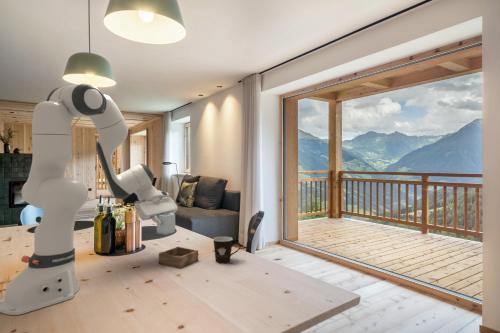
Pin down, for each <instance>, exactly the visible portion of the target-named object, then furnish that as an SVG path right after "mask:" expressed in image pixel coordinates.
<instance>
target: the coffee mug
mask: <svg viewBox="0 0 500 333" xmlns="http://www.w3.org/2000/svg"><path fill="white" fill-rule="evenodd" d="M235 244H237V245H239V247H238V248H237V250H235V251H233V252H232V248H233V246H234V245H235ZM241 246H242V244H241V243H240V242H238V241H234V242H233V238H232V236H231V237H230V236H216V237H214V238H213V247H214V256H215V257H214V258H215V262H216V264H217V263H218V264H222V263H223V264H228V263H230V262H231V257H232V256H233V255H234V254H236V253H238V252H239V251H240V250H241Z"/></svg>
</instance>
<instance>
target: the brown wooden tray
mask: <svg viewBox="0 0 500 333" xmlns="http://www.w3.org/2000/svg"><path fill="white" fill-rule="evenodd" d="M198 261H199V249H198V250H197V249H191V248H186V247H181V246H176V247H173V248H170V249H167V250H164V251H162V252H159V253H158V264H159V265H163V266H167V267H172V268H176V269H183V268H184V267H186V266H189V265H191V264H193V263H195V262H198Z"/></svg>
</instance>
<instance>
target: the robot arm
mask: <svg viewBox="0 0 500 333" xmlns="http://www.w3.org/2000/svg"><path fill="white" fill-rule="evenodd" d="M86 116H87V117H88V118H89V119H90V120H91V121H92V124H93V126H94V127H95V129H96V132H97V135H98V136H97V137H98V140H97V142H96V143H95V149H96V152H97V153H96V154H97V157H98V159H99V163H100V165H101V168H102V171H103V173H104V176H105V180H106V183H107V188H108V192H109V193H110V195H111V196H112V197H113V198H115V199H117V200H125V199H126V198H128V197H129V196H131V195H133V193H134V194H135V195H136V196H137V200H135V201H134V203H133V206H134V208H135V209H136V212H137V214H138V217H139V218H140V220H142V221H149V220H152V221H153V222H154V223H156V225H157V224H158V225H159V226H160V225H162V224H163V222H162V220H159V219H158V218H157V215H160V214H164V213H172V214H176V212H177V211H178V208H179V207H178V205H177V203H176V202H175V201H174V200H173V198H171V197H170V194H169V193H168V192H167V191H164V190H163V191H162V190H160V189H157V188H156V187H155V186H154V185H153V183H154V178H155V176H154V173H153V172H152V171H151V170H150V168H149V166H148V165H146V164H144V163H139V164H136V165H134V166H132V167H130V168H129V169H126V170H125V171H123V172H121V173H119V174H117V172H116V170H115V167H114V164H113V161H112V157H113V155H114V153H115V152H116V150H117V149H118V148H119V147H120V146H121V145H123V143H124V142H125V140H126V139H127V137H128V134H129V126H128V124H127V121H126V119H125V117H124V116H123V114H122V111H121V110H120V109H119V106H118V105H117V104H116V103H115V101H114V100H113V98H111V96H110V95H107V94H103V92H102V91H101V90H100V88H98V87H97V86H95V85H92V84H88V83H80V84H69V85H64V86H62V87H61V86H60V87H56V88H55V89H53V90H51V91H50V92H49V93H48V96H47V97H46V100H44V101H41V102H39V103H37V104H36V105H35V107H34V110H33V116H32V121H31V122H32V123H31V138H32V140H31V143H32V144H31V145H32V146H31V147H32V159H31V164H30V166H31V167H30V169H29V174H28V178H27V181H25V183H24V184H23V186H22V188H21V196H22V199H23V201H24V202H26V203H27V204H29V205H30V206H33V207H35V208H36V209H37V208H38V209H42V210H43V212H42V216H41V218H40V219H41V220H40V222H39V224H38V225H37V226H36V227H35V229H34V237H33V238H34V239H33V240H34V243H33V245H34V248H33V249H34V252H33V253H32V255H31V256H29V255H23V256H22V257H21V258H20V261H21V262H23V263H25V264H27V263H28V264H27V267H25V268H24V269H23V270H22V271H21V272H20V273H19V274H17V275H16V276H15V277H14V278H13V279H12V280H11V281H9V283H7V286H6V287H5V291H4V298H1V299H0V313H2V314H5V315H8V316H11V315H12V316H19V315H23V314H26V313H29V312H33V311H36V310H39V309H43V308H45V307H49V306H53V305H55V304H59V303H62V302H65V301H69V300H71V299H74V297H75V294H76V293H77V292H78V290H79V289H80V287H79V285H78V281H77V276H76V271H75V270H76V269H75V261H76V251H75V250H76V248H75V247H74V238H75V236H74V234H75V229H74V228H75V223H76V219H77V217H78V214H79V211H80V209H81V208H82V207H83V206H84V205H85V204H86V202H87V200H88V198H89V192H88V188H87V186H86V184H85V183H83V182H81V181H79V180H77V179H74V178H72V177H65V172H66V169H67V167H68V164H69V163H70V162H71V161H72V159H73V139H72V138H73V137H72V122H73V119H74V118H83V117H86Z"/></svg>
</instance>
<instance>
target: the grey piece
mask: <svg viewBox="0 0 500 333" xmlns="http://www.w3.org/2000/svg"><path fill="white" fill-rule="evenodd" d="M157 218H158V219H159V220H162V222H163V224H162V225H160V226H159V225H158V224H157V223H156V234H159V235H164V236H166V235H170V234H172V233H173V234H174V233H176V213H174V214H172V213H164V214H160V215H157Z"/></svg>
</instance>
